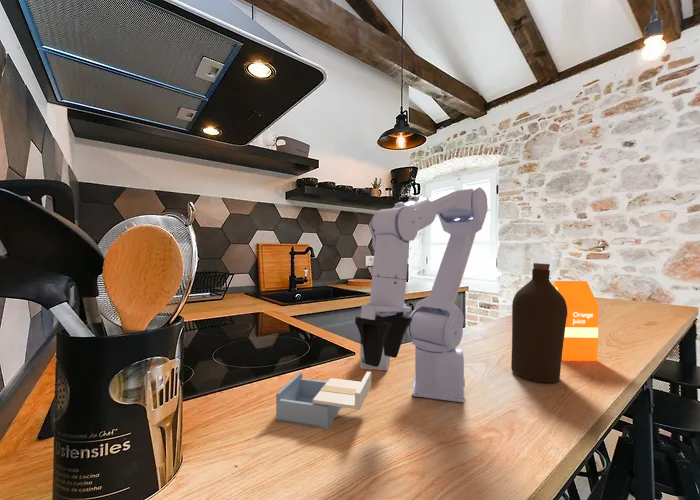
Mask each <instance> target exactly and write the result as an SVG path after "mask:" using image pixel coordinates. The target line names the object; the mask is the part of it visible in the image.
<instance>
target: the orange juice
mask: <svg viewBox="0 0 700 500" xmlns="http://www.w3.org/2000/svg"><path fill="white" fill-rule="evenodd" d="M552 285H553V286H554V287H555V288H556V289H557V290H558V291H559V292H560V294H561V295H562V296H563V297H564V299H565V301H566V305H567V312H568V314H567V320H566V327H565V335H564V343H563V351H562V361H563V362H564V361H565V362H568V361H569V362H572V361H573V362H574V361H575V362H598V356H599V355H598V353H599V352H598V348H599V347H598V346H599V345H598V344H599V341H598V340H599V304H598V302H597V300H596V297H595V296H594V293H593V291H592V289H591V287H590V285H589V283H588V280H554V282H553V283H552Z"/></svg>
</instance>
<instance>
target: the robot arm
mask: <svg viewBox="0 0 700 500" xmlns="http://www.w3.org/2000/svg"><path fill="white" fill-rule="evenodd" d="M408 199H409V200H407V201H406V202H403V201H399V202H397V203H394V206H393V207H392V208H382V209H379V210H378V211H377V212H376V213H375V214H374V215H373V216H372V218H371V221H370V222H369V233H370V236H371V238H372V243H371V244H372V245H371V246H372V249H373V251H374V252H373V254H374V255H373V266H372V275H371V276H372V277H371V284H370V285H371V286H370V298H369V302H368V303H365V304H361V312H360V315H357V316H355V319H354V323H355V325H356V327H357V330H358V333H359V335H360V336H361V340H362V345H363V352H364V359H365V364H367V365H371V366H375V367H378V366H379V364H380V361H381V357H382V352H383V346H384V355H385V356H389V357H391V358H393V359H394V358H395V359H396V358H397V357H398V356H399V355H398V354H399V352H400V349H401V345H402V342H403V339H404V336H405V334H406V333H407V336H408V337H409V339H411V340H412V341H411V343H412V344H411V345H413V346H415V352H414V353H415V355H414V356H415V358H414V359H415V362H414V363H415V370H414V371H415V373H414V374H415V377H414V380H413V384H412V385H413V386H412V391H411V396H413V397H418V398H423V399H424V398H426V399H432V400H433V399H434V400H441V401H448V402H456V403H464V402H465V399H464V398H465V394H464V392H465V387H466V382H465V381H466V380H465V375H464V374H465V360H464V349H462V348H461V347H460V348H459V347H458V346H459V345H460V343H461V341H462V340H463V339H462V338H463V331H464V330H463V327H464V321H465V317H464V313H463V312H462V310H461V309H460V307H458V305H456V304H455V302H456V299H457V296H458V294H459V290H460V287H461V282H462V280H463V277H464V274H465V271H466V267H467V264H468V262H469V261H468V260H469V258H470V255H471V251H472V248H473V244H474V241H475V239H476V233H478V232H479V231H481V230H482V229H483V225H484V223H485V220H486V216H487V213H488V208H489V207H488V206H489V205H488V197H487V193H486V191H485V190H484V189H483V188H482V187H480V186H479V187H475V188H466V189H465V188H464V189H457V190H449V191H442V192H437V193H436V194H435V195H433V196H432V197H429V198H426V197H423V196H420V195H419V194H418V195H417V194H416V195H412V196H409V198H408ZM437 215H438V218H439V222H440V225H441V227H442V229H443V232H445V233H447V234H448V235H449V238H448V241H447V244H446V248H445V251H444V253H443V256H442V259H441V262H440V265H439V268H438V270H437V273H436V276H435V278H434V281H433V286H432V289H431V290H430V294H429V295H428V296H426V297H424V298H422V299H420V300H419V301H417V302H416V304H415V307H414V309H413V310H412V312H411V307H410V306H408V304H407V303H405V298H406V289H407V288H406V285H407V275H408V274H407V273H408V262H409V253H410V251H409V250H410V242H411V241H412V242H413V241H414V240H415V239H416V237H417V235H418V232H419V231H421V230H422V229H424V228H426V227H428V226H430V225H432V223H434V222H435V219H436V216H437ZM408 312H409V313H410V314H409V315H406V314H407V313H408ZM360 336H359V337H360Z"/></svg>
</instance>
